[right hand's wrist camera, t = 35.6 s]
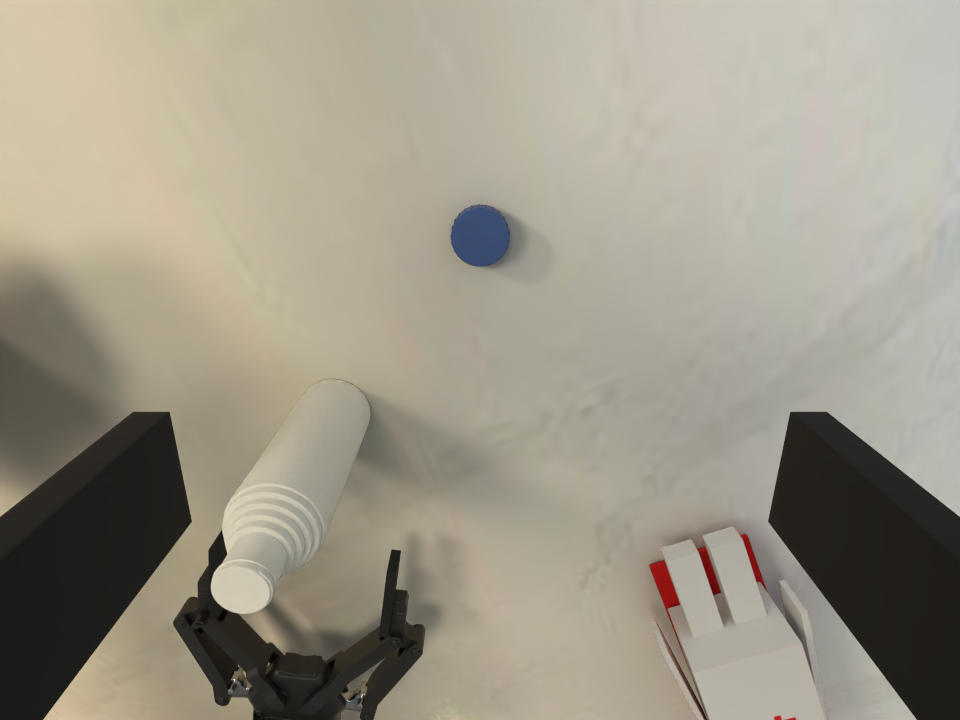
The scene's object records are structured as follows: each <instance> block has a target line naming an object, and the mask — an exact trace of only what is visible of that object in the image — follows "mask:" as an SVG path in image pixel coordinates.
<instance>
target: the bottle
mask: <svg viewBox="0 0 960 720" xmlns="http://www.w3.org/2000/svg"><path fill="white" fill-rule="evenodd" d="M370 417H371V411H370V406H369V403H368V401H367V399H366V397H365V396H364V394H363V393H362V392H361V391H360V390H359V389H358V388H357V387H355V386H354V385H352V384H350V383H348V382H345V381H342V380H337V379H327V380H322V381H319V382H317V383H315V384H313V385H311V386H310V387H309V388H308V389H307V390H306V391H305V392H304V394H303V395H302V397H301V398H300V400H299V401H298V402H297V404H296V405H295V407H294V408H293V410H292V411H291V413H290V414H289V416H288V417H287V418H286V420H285V421H284V423H283V424H282V426H281V427H280V429H279V430H278V431H277V433H276V434H275V436H274V437H273V439H272V440H271V442H270V443H269V445H268V446H267V447H266V449H265V450H264V452H263V453H262V455H261V456H260V458H259V459H258V460H257V462H256V463H255V465H254V466H253V468H252V469H251V471H250V472H249V473H248V475H247V476H246V478H245V479H244V481H243V482H242V484H241V485H240V487H239V488H238V489H237V491H236V492H235V494H234V495H233V497H232V498H231V500H230V501H229V503H228V504H227V506H226V509H225V512H224V518H223V522H222V532H223V537H224V542H225V546H226V550H227V556H226V558H225V559H224V561H223V563H222V564H221V565H220V566H219V567H218V568H217V569H216V571H215V572H214V574H213V578H212V582H211V592H212V595H213V597H214V599H215V600H216V602H217V603H218V604H219V605H220V606H222V607H223V608H225V609H226V610H229V611H231V612H234V613H239V614H250V613H254V612H257V611H259V610H261V609H263V608H264V607H265V606H267V605H268V604H269V602H270V601H271V599H272V596H273V595H274V592H275V589H276V584H277V582H278V579H279V577H280V576H282V575H284V574H287V573H288V572H291V571H293V570H295V569H297V568H299V567H301V566H303V565H304V564H306V563H307V562H308V561H309V560H310V559H311V558H312V557H313V556H314V555H315V554H316V553H317V552H318V550H319V549H320V547H321V545H322V543H323V541H324V538H325V536H326V533H327V530H328V528H329V525H330V523H331V520H332V518H333V515H334V512H335V510H336V507H337V505H338V502H339V500H340V497H341V494H342V492H343V489H344V487H345V484H346V482H347V479H348V476H349V474H350V471H351V469H352V466H353V464H354V461H355V458H356V456H357V453H358V451H359V448H360V446H361V443H362V440H363V438H364V435H365V433H366V430H367V428H368V425H369V422H370Z"/></svg>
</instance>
